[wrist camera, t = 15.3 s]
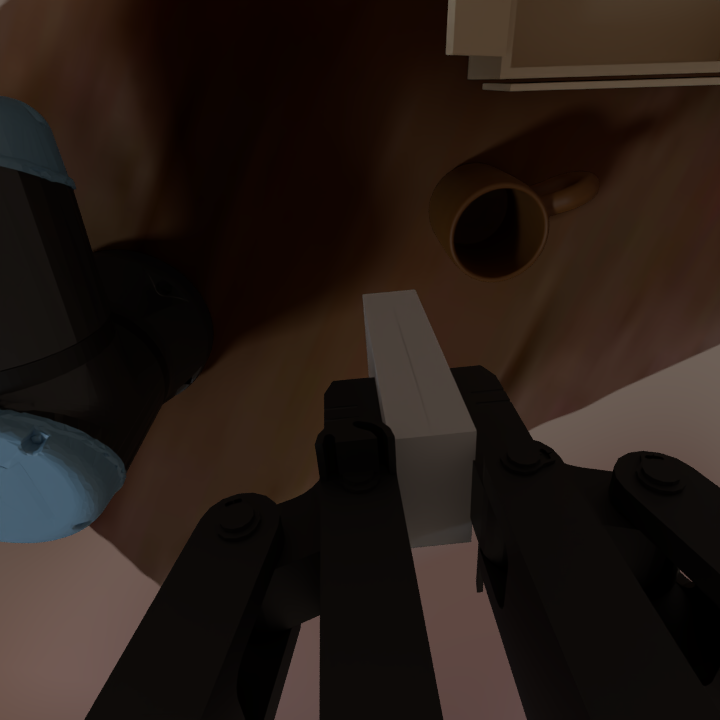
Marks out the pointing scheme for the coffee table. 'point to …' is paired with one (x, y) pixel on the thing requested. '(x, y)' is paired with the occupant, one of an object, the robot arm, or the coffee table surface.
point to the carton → (605, 44)
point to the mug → (500, 217)
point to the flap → (478, 27)
